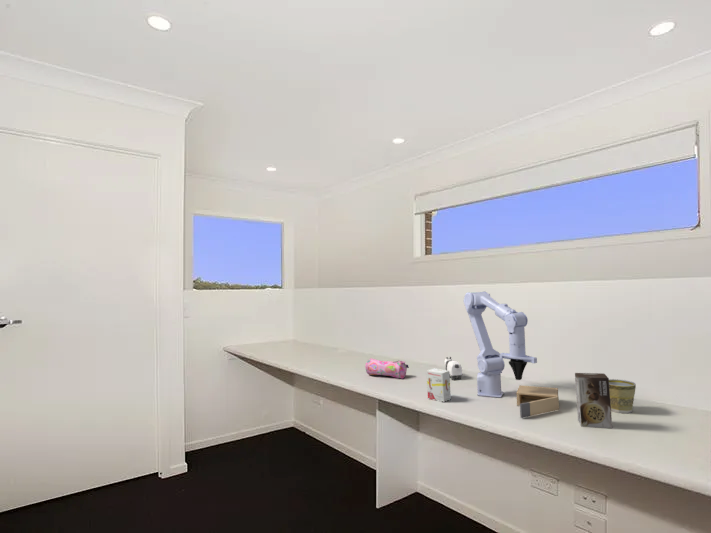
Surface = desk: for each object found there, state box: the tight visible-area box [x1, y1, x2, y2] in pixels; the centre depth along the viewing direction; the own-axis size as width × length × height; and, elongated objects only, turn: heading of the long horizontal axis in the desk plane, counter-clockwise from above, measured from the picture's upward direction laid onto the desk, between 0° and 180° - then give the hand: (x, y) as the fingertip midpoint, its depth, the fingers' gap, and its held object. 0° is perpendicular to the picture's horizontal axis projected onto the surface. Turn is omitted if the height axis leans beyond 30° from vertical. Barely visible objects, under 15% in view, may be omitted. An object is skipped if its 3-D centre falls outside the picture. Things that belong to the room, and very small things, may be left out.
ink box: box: [426, 367, 452, 403], centre depth 172 cm, size 9×5×12 cm, turn 41°
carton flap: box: [519, 396, 560, 419], centre depth 148 cm, size 18×1×5 cm, turn 114°
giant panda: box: [443, 356, 463, 381], centre depth 209 cm, size 15×6×10 cm, turn 9°
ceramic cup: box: [609, 378, 637, 414], centre depth 150 cm, size 13×10×10 cm
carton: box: [515, 384, 559, 407], centre depth 161 cm, size 14×12×5 cm
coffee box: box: [574, 372, 613, 429], centre depth 137 cm, size 9×6×16 cm
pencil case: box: [364, 357, 409, 380], centre depth 216 cm, size 21×9×9 cm, turn 59°
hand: (518, 379), depth 161 cm, fingers closed
